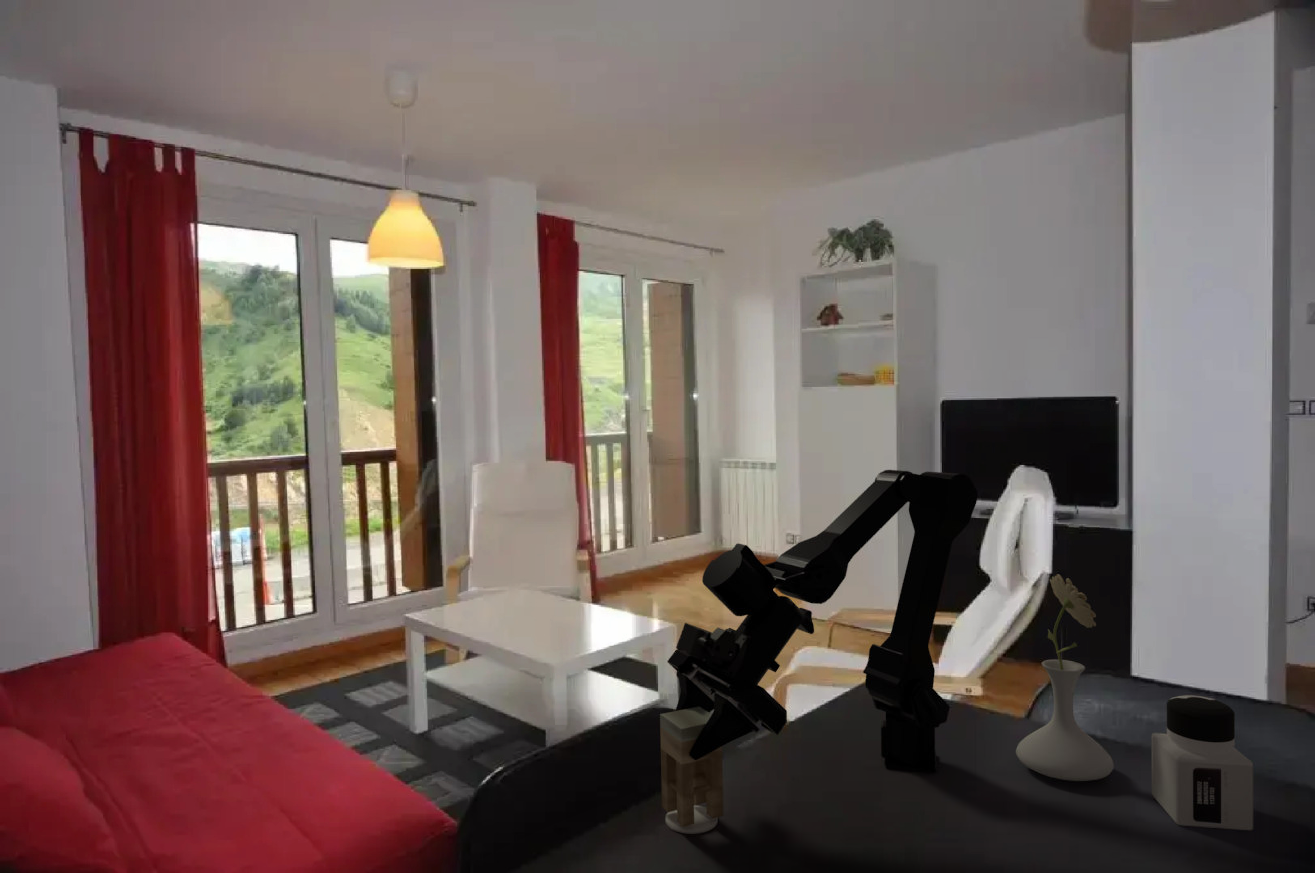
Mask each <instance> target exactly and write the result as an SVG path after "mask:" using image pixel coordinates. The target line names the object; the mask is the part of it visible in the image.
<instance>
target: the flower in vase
mask: <svg viewBox="0 0 1315 873" xmlns="http://www.w3.org/2000/svg"><path fill="white" fill-rule="evenodd" d="M1049 582H1050V584H1051V585H1050V586H1051V589H1052V592H1053V594H1054V596H1055V597H1056V598H1057V599H1058V600H1059V601H1058V602H1060V604H1061V605H1062V607H1061V609H1060V611H1059V614H1058V615H1057V619H1056V621H1055V624H1054V628H1053V633H1052V632H1051V630H1050V629H1047V631H1048V632H1047V633H1048V634H1047V638H1048V640H1051V641H1052V642H1053V643H1054V647H1055V651H1056V652H1055V653H1056V655H1057V659H1047V660H1043V661H1042V662H1041V665H1042V667H1043V668H1044V669H1045V671H1046V673H1047V674H1048V676H1049V678H1050V682H1051V686H1052V692H1053V713H1052V714H1053V715H1052V718H1051V720H1050V721H1049V722H1048V723H1046V724H1045V725H1044V726H1042V727H1040V728H1038V729H1037V730H1035V731H1033V732H1032V733H1030V734H1028V735H1026V736H1025V737H1024V738H1023V739H1022V740H1021V741H1019V743H1018V744H1017V747H1016V749H1015V754H1016V756H1017V757H1018V759H1019V761H1020V762H1021V763H1022V764H1023V765H1024V766H1025V767H1027V768H1028V769H1030V770H1033V771H1035V772H1037V773H1039V774H1041V775H1044V776H1046V777H1049V778H1054V779H1059V780H1064V781H1070V782H1072V781H1073V782H1087V781H1096V780H1100V779H1104V778H1106V777H1108V776H1109V775H1110V774H1111V773H1112V771H1113V770H1114V768H1115V765H1114V761H1113V759H1112V757H1111V755H1110V754H1109V753H1108V752H1107V751H1106V750H1105V748H1104V747H1103V746H1102V745H1101V744H1099V743H1098V742H1097V741H1096V740H1094V739H1093V738H1092V737H1091V736H1089V734H1087V733H1086V732H1085V731H1084V730H1083V729H1081V727H1080V726H1079V725H1078V724H1077V721H1076V720H1075V715H1074V694H1075V689H1076V685H1077V682H1078V680H1079V678H1080V675H1081V674H1082V673H1083V672H1084V670H1086V666H1085V665H1083V664H1081V663H1079V662H1076V661H1074V660H1073V661H1072V660H1067V659H1062V656H1061V653H1064V652H1066V651H1067V650H1070V649H1073V648H1076V647H1078V644H1077V643H1076V642H1075V641H1074V642H1073V643H1071V645H1070V646H1066V647H1064V648H1061V649H1060V650H1059V644H1058V640H1057V639H1058V638H1057V630H1058V626H1059V623H1060V621H1061V619H1062V616H1063V614H1064V612H1065V611H1066V612H1067V613H1068V614H1070V615H1071V616H1072V618H1073V619H1074V620H1076V621H1077V622H1078V623H1079V624H1080V625H1082V626H1085V628H1086V629H1088V628H1089V629H1090V628H1093V627H1096V626H1097V623H1096V621H1095V620H1094V618H1096V617H1097V615H1096V613H1095V612H1094V610H1092V609H1091V608H1092V607H1091V605H1090V604H1089V603H1087V600H1088V598H1087V595H1086V594H1084V593H1083V592H1079V590H1078V588H1077V587H1076V586H1075V585H1073V582H1072V580H1071V579H1070V578H1068V577H1067V578H1066V579H1065V581H1064V578H1063V576H1061V574H1058V573H1057V574H1056V575H1054V576H1051V578H1049Z"/></svg>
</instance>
